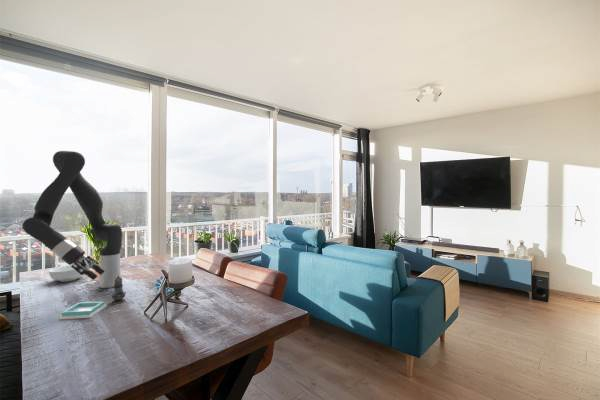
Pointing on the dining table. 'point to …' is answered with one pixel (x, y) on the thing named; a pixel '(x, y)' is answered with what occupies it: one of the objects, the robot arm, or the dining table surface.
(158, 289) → the gear
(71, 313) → the socket board
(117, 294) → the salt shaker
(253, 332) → the dining table surface
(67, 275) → the cereal bowl
